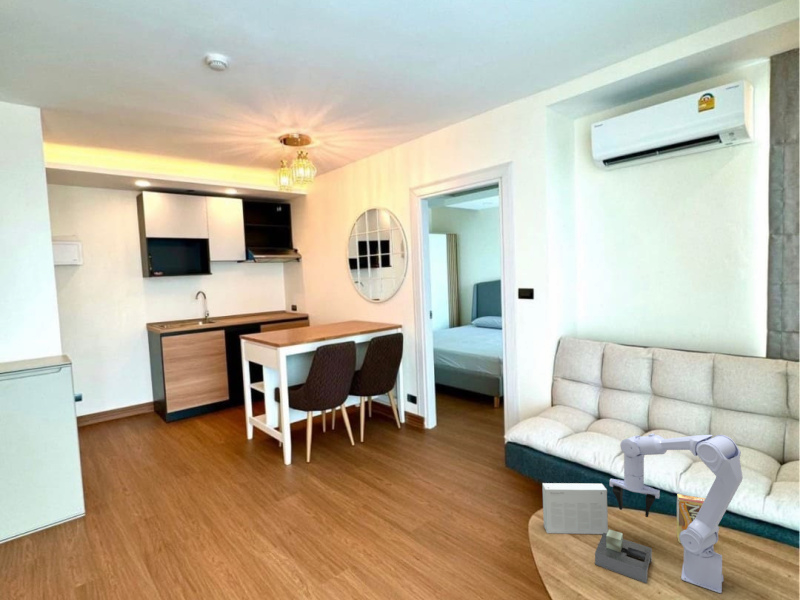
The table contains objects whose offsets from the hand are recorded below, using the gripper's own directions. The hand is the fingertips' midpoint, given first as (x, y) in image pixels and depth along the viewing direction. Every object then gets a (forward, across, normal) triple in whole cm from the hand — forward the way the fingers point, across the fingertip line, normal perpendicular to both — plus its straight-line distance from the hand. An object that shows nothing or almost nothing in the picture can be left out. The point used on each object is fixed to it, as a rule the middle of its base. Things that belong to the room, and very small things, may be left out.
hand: (633, 511), depth 141 cm
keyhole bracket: (+10, +1, +13) cm, 17 cm away
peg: (+10, +4, +13) cm, 16 cm away
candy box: (+11, -16, -10) cm, 22 cm away
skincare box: (+11, +18, +4) cm, 21 cm away
